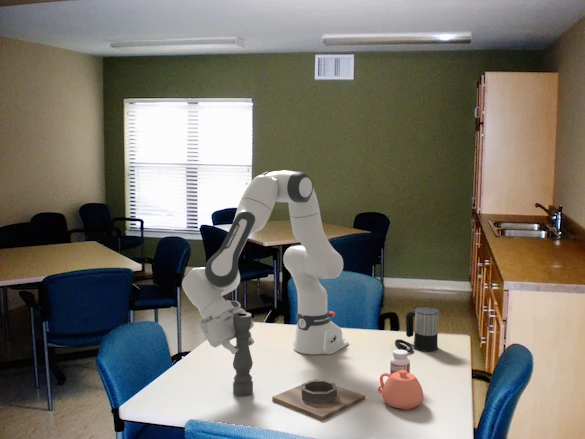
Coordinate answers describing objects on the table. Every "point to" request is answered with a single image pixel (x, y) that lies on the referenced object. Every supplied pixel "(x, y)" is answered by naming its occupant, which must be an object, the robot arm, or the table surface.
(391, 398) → the sugar bowl
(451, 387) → the table surface
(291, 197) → the robot arm
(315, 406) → the candle dish
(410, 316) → the milk frother
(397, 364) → the pill bottle
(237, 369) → the candle holder
